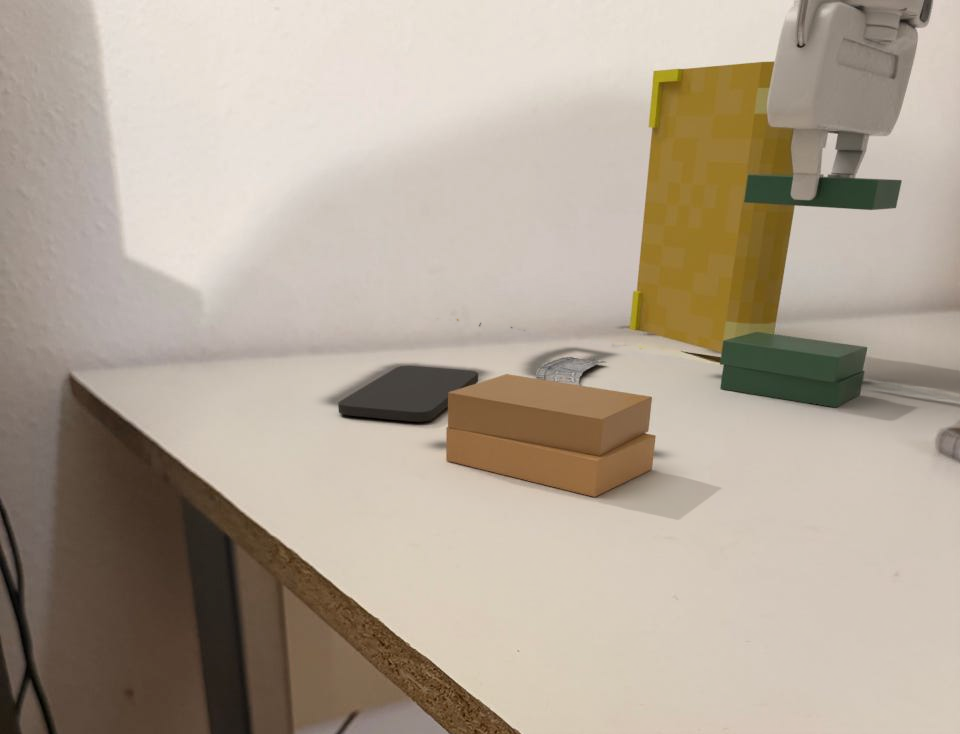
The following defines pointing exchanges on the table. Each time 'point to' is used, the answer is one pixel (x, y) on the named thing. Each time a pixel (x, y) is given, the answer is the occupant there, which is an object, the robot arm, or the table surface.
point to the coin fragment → (565, 369)
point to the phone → (407, 393)
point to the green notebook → (826, 192)
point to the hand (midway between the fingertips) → (821, 199)
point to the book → (711, 208)
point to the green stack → (793, 368)
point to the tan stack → (551, 432)
